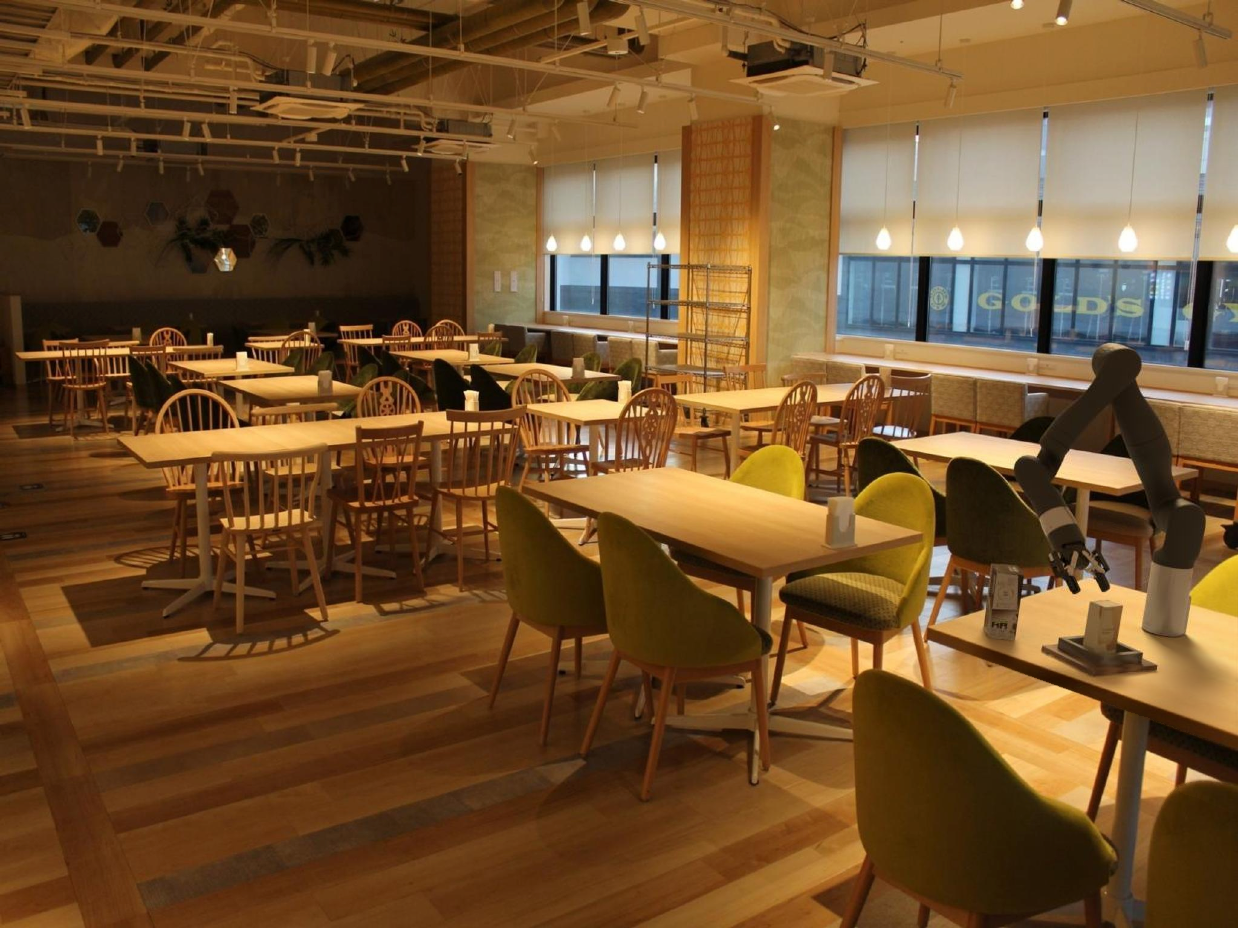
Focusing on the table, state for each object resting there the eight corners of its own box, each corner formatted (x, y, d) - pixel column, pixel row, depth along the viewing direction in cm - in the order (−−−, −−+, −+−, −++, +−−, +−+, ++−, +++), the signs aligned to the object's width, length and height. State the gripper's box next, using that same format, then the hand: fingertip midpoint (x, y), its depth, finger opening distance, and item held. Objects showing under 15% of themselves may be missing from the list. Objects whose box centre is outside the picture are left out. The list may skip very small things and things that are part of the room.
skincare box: (1096, 659, 240) (1104, 607, 237) (1080, 652, 244) (1088, 601, 241) (1116, 656, 243) (1124, 604, 240) (1100, 649, 246) (1108, 598, 244)
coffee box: (1016, 641, 253) (1025, 575, 250) (987, 637, 254) (996, 572, 251) (1010, 628, 261) (1018, 565, 258) (982, 625, 263) (990, 562, 260)
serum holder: (1102, 644, 254) (1104, 630, 253) (1156, 669, 239) (1159, 654, 238) (1041, 650, 247) (1043, 635, 247) (1093, 676, 233) (1096, 660, 232)
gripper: (1047, 523, 248) (1077, 585, 239) (1095, 521, 253) (1126, 582, 244) (1028, 539, 253) (1057, 601, 245) (1075, 537, 258) (1105, 597, 250)
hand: (1092, 591), depth 245 cm, fingers open, 8 cm apart
